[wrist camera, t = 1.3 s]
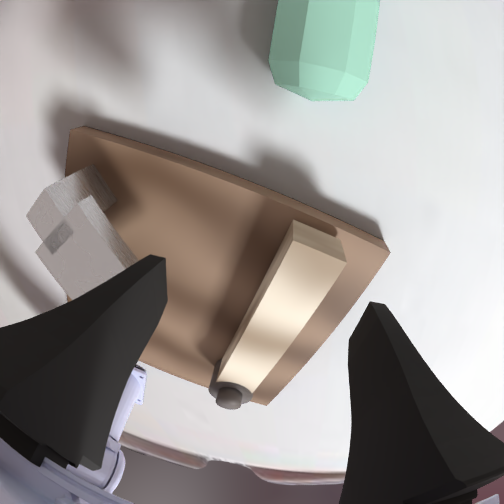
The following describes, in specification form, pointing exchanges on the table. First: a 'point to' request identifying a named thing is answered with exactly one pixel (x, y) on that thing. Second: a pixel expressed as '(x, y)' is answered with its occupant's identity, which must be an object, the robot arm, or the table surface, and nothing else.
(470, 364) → the table surface
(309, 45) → the green octagonal bar
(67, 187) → the plate
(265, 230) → the board
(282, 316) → the link
